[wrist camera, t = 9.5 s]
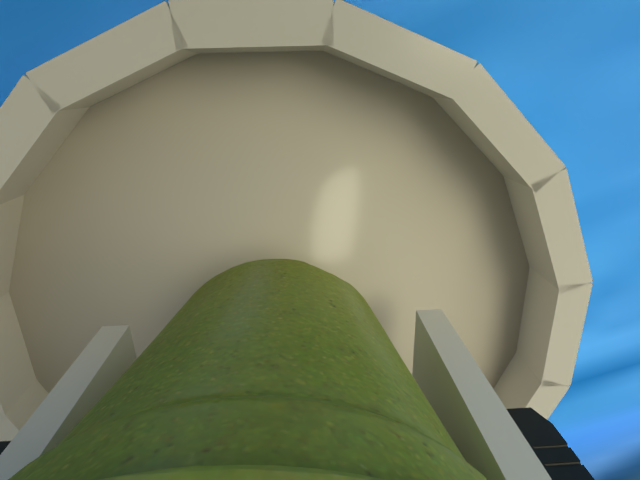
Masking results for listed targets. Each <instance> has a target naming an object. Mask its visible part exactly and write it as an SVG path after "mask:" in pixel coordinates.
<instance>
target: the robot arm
mask: <svg viewBox="0 0 640 480" xmlns="http://www.w3.org/2000/svg"><path fill="white" fill-rule="evenodd" d="M135 360H136V354H135V349H134V344H133V340H132V335H131V330H130V325H120V326H102V327H101V329H100V330H99V331H98V332H97V334H96V335H95V336H94V338H93V339H92V340H91V341H90V343H89V344H88V345H87V346H86V348H85V349H84V350H83V351H82V353H81V354H80V355H79V356H78V358H77V359H76V360H75V361H74V363H73V364H72V365H71V367H70V368H69V369H68V370H67V372H66V373H65V374H64V375H63V377H62V378H61V379H60V380H59V382H58V383H57V384H56V385H55V387H54V388H53V389H52V390H51V392H50V393H49V394H48V395H47V397H46V398H45V399H44V401H43V402H42V403H41V404H40V406H39V407H38V408H37V409H36V411H35V412H34V413H33V414H32V416H31V417H30V418H29V419H28V421H27V422H26V423H25V424H24V426H23V427H22V428H21V430H20V431H19V432H18V433H17V435H16V436H15V437H14V438H13V440H12V441H0V480H8V479H9V478H11V477H12V476H13V475H15V474H16V473H17V472H18V471H20V470H21V469H22V468H23V467H25V466H26V465H27V464H29V463H30V462H32V461H34V460H35V459H37V458H38V457H40V456H41V455H43V454H44V453H46V452H48V451H50V450H51V449H53V448H55V447H56V446H57V445H58V444H59V443H60V442H61V441H62V440H63V439H64V438H65V437H66V436H67V435H68V433H69V432H70V431H71V430H72V429H73V428H74V427H75V426H76V425H77V424H78V423H79V421H80V420H81V419H82V418H83V417H84V416H85V415H86V414H87V413H88V412H89V411H90V409H91V408H92V407H93V406H94V405H95V404H96V403H97V402H98V401H99V400H100V399H101V397H102V396H103V395H104V394H105V393H106V392H107V391H108V390H109V389H110V388H111V387H112V386H113V384H114V383H115V382H116V381H117V380H118V379H119V378H120V377H121V376H122V375H123V374H124V373H125V371H126V370H127V369H128V368H129V367H130V366H131V365H132V364H133V362H134V361H135ZM412 376H413V378H414V379H415V381H416V382H417V384H418V386H419V387H420V389H421V390H422V392H423V394H424V395H425V397H426V398H427V400H428V402H429V403H430V405H431V406H432V408H433V410H434V411H435V413H436V414H437V416H438V418H439V419H440V421H441V422H442V424H443V426H444V427H445V429H446V430H447V432H448V434H449V435H450V437H451V438H452V440H453V441H454V443H455V445H456V446H457V448H458V449H459V451H460V453H461V454H462V456H463V457H464V459H465V461H466V462H468V463H469V464H470V465H471V466H473V467H474V468H475V469H476V470H478V471H479V472H480V473H481V474H483V475H484V476H485V477H486V478H487V479H488V480H594V478H593V477H592V476H591V474H590V473H589V472H588V470H587V469H586V468H585V467H584V465H581V464H580V460H579V459H578V457H577V456H576V455H575V453H574V452H573V451H572V449H571V448H568V446H567V443H566V441H565V440H564V439H563V437H562V436H561V435H560V433H559V432H558V431H557V429H556V428H555V427H554V425H553V424H552V423H551V422H549V421H548V420H547V419H545V418H544V417H543V416H541V415H540V414H539V413H537V412H536V411H535V410H534V409H532V408H531V407H528V408H512V409H506V408H505V406H504V405H503V403H502V402H501V400H500V399H499V397H498V396H497V394H496V392H495V391H494V389H493V388H492V386H491V385H490V383H489V382H488V380H487V379H486V377H485V375H484V374H483V372H482V371H481V369H480V368H479V366H478V365H477V363H476V362H475V360H474V358H473V357H472V355H471V354H470V352H469V351H468V349H467V348H466V346H465V345H464V343H463V341H462V340H461V338H460V337H459V335H458V334H457V332H456V331H455V329H454V328H453V326H452V324H451V323H450V321H449V320H448V318H447V317H446V315H445V314H444V312H443V311H442V309H433V310H416V321H415V337H414V354H413V371H412Z"/></svg>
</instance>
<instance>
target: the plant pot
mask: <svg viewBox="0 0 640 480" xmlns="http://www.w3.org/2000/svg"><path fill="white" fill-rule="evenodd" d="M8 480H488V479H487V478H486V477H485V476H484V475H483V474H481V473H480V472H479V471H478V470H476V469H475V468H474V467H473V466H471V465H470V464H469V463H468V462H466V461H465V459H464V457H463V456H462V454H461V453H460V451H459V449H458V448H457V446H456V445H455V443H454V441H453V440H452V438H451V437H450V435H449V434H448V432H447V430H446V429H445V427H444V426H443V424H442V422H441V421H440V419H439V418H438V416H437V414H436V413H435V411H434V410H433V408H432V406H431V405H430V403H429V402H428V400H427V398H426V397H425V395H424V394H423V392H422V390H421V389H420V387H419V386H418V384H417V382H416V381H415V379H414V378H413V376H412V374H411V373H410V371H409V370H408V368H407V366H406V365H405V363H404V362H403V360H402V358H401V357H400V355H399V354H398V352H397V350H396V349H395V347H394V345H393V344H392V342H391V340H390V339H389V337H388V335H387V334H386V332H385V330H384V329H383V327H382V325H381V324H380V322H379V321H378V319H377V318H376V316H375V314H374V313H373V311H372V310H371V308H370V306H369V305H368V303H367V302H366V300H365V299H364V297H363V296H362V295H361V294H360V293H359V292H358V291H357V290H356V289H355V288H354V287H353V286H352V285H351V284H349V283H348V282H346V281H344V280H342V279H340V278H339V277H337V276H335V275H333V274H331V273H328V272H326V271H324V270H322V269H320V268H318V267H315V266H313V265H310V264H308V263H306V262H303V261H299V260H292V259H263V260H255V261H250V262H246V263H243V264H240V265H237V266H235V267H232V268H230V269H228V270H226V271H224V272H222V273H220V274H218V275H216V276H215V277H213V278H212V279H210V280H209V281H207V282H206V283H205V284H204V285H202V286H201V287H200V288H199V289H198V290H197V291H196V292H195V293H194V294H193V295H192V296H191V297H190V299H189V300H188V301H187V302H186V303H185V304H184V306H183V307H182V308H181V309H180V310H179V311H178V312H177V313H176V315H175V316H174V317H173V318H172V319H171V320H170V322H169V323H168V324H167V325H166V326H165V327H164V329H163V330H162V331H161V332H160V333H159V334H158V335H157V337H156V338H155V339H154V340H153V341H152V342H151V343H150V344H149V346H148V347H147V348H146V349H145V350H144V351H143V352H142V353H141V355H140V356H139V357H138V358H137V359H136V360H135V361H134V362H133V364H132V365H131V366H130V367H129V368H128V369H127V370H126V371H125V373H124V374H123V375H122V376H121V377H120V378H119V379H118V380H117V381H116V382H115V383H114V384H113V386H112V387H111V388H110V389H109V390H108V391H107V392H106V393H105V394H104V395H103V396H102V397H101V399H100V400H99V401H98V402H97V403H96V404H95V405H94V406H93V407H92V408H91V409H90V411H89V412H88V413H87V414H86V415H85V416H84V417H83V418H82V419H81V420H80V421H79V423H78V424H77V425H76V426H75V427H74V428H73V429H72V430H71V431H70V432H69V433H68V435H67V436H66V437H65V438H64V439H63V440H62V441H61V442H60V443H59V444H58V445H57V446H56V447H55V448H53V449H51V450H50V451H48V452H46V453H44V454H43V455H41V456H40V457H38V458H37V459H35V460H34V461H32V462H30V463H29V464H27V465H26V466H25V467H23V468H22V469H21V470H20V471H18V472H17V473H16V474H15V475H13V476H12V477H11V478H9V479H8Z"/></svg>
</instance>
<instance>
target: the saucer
mask: <svg viewBox="0 0 640 480" xmlns="http://www.w3.org/2000/svg"><path fill="white" fill-rule="evenodd" d="M564 167H565V165H564V164H563V163H562V161H561V160H560V159H559V158H558V157H557V155H556V154H555V153H554V152H553V151H552V149H551V148H550V147H549V146H548V145H547V143H546V142H545V141H544V140H543V138H542V137H541V136H540V135H539V134H538V132H537V131H536V130H535V129H534V128H533V126H532V125H531V124H530V123H529V122H528V120H527V119H526V118H525V117H524V116H523V114H522V113H521V112H520V111H519V110H518V108H517V107H516V106H515V105H514V104H513V102H512V101H511V100H510V99H509V98H508V96H507V95H506V94H505V93H504V91H503V90H502V89H501V88H500V87H499V85H498V84H497V83H496V82H495V81H494V79H493V78H492V77H491V76H490V75H489V73H488V72H487V71H486V70H485V69H484V67H483V66H482V65H481V64H480V63H477V61H476V60H474V59H472V58H469V57H467V56H465V55H463V54H461V53H458V52H456V51H454V50H452V49H449V48H447V47H445V46H443V45H441V44H438V43H436V42H434V41H432V40H429V39H427V38H425V37H423V36H421V35H418V34H416V33H414V32H412V31H409V30H407V29H405V28H403V27H401V26H398V25H396V24H394V23H392V22H390V21H387V20H385V19H383V18H381V17H378V16H376V15H374V14H372V13H370V12H367V11H365V10H363V9H361V8H358V7H356V6H354V5H352V4H350V3H347V2H345V1H343V0H335V2H334V4H333V0H169V3H168V2H166V1H164V2H162V3H160V4H158V5H156V6H154V7H152V8H150V9H148V10H147V11H145V12H143V13H141V14H139V15H137V16H135V17H133V18H131V19H129V20H127V21H125V22H123V23H121V24H119V25H117V26H115V27H113V28H112V29H110V30H108V31H106V32H104V33H102V34H100V35H98V36H96V37H94V38H92V39H90V40H88V41H86V42H84V43H82V44H80V45H78V46H77V47H75V48H73V49H71V50H69V51H67V52H65V53H63V54H61V55H59V56H57V57H55V58H53V59H51V60H49V61H47V62H45V63H44V64H42V65H40V66H38V67H36V68H34V69H32V70H30V71H28V72H26V75H23V76H22V77H21V78H20V80H19V81H18V83H17V84H16V86H15V87H14V89H13V90H12V92H11V93H10V94H9V96H8V97H7V99H6V100H5V102H4V103H3V105H2V106H1V107H0V441H12V440H13V438H14V437H15V436H16V435H17V433H18V432H19V431H20V430H21V428H22V427H23V426H24V424H25V423H26V422H27V421H28V419H29V418H30V417H31V416H32V414H33V413H34V412H35V411H36V409H37V408H38V407H39V406H40V404H41V403H42V402H43V401H44V399H45V398H46V397H47V395H48V394H49V393H50V392H51V390H52V389H53V388H54V387H55V385H56V384H57V383H58V382H59V380H60V379H61V378H62V377H63V375H64V374H65V373H66V372H67V370H68V369H69V368H70V367H71V365H72V364H73V363H74V361H75V360H76V359H77V358H78V356H79V355H80V354H81V353H82V351H83V350H84V349H85V348H86V346H87V345H88V344H89V343H90V341H91V340H92V339H93V338H94V336H95V335H96V334H97V332H98V331H99V330H100V329H101V327H102V326H120V325H130V330H131V335H132V340H133V344H134V349H135V354H136V359H137V358H138V357H139V356H140V355H141V353H142V352H143V351H144V350H145V349H146V348H147V347H148V346H149V344H150V343H151V342H152V341H153V340H154V339H155V338H156V337H157V335H158V334H159V333H160V332H161V331H162V330H163V329H164V327H165V326H166V325H167V324H168V323H169V322H170V320H171V319H172V318H173V317H174V316H175V315H176V313H177V312H178V311H179V310H180V309H181V308H182V307H183V306H184V304H185V303H186V302H187V301H188V300H189V299H190V297H191V296H192V295H193V294H194V293H195V292H196V291H197V290H198V289H199V288H200V287H201V286H202V285H204V284H205V283H206V282H207V281H209V280H210V279H212V278H213V277H215V276H216V275H218V274H220V273H222V272H224V271H226V270H228V269H230V268H232V267H235V266H237V265H240V264H243V263H246V262H250V261H255V260H263V259H292V260H299V261H303V262H306V263H308V264H310V265H313V266H315V267H318V268H320V269H322V270H324V271H326V272H328V273H331V274H333V275H335V276H337V277H339V278H340V279H342V280H344V281H346V282H348V283H349V284H351V285H352V286H353V287H354V288H355V289H356V290H357V291H358V292H359V293H360V294H361V295H362V296H363V297H364V299H365V300H366V302H367V303H368V305H369V306H370V308H371V310H372V311H373V313H374V314H375V316H376V318H377V319H378V321H379V322H380V324H381V325H382V327H383V329H384V330H385V332H386V334H387V335H388V337H389V339H390V340H391V342H392V344H393V345H394V347H395V349H396V350H397V352H398V354H399V355H400V357H401V358H402V360H403V362H404V363H405V365H406V366H407V368H408V370H409V371H410V373H411V374H412V371H413V354H414V337H415V321H416V310H433V309H442V311H443V312H444V314H445V315H446V317H447V318H448V320H449V321H450V323H451V324H452V326H453V328H454V329H455V331H456V332H457V334H458V335H459V337H460V338H461V340H462V341H463V343H464V345H465V346H466V348H467V349H468V351H469V352H470V354H471V355H472V357H473V358H474V360H475V362H476V363H477V365H478V366H479V368H480V369H481V371H482V372H483V374H484V375H485V377H486V379H487V380H488V382H489V383H490V385H491V386H492V388H493V389H494V391H495V392H496V394H497V396H498V397H499V399H500V400H501V402H502V403H503V405H504V406H505V408H506V409H512V408H528V407H531V408H532V409H534V410H535V411H536V412H537V413H539V414H540V415H541V416H543V417H544V418H545V419H548V418H549V416H550V415H551V413H552V412H553V411H554V409H555V408H556V406H557V405H558V403H559V402H560V400H561V399H562V398H563V396H564V395H565V393H566V392H567V390H568V389H569V386H568V385H571V381H572V376H573V372H574V367H575V363H576V358H577V354H578V349H579V344H580V340H581V335H582V331H583V326H584V322H585V317H586V312H587V308H588V303H589V299H590V294H591V290H592V285H593V283H591V282H592V281H593V280H592V276H591V271H590V267H589V263H588V258H587V254H586V250H585V245H584V241H583V237H582V232H581V228H580V224H579V219H578V215H577V211H576V207H575V202H574V198H573V194H572V189H571V185H570V181H569V176H568V172H567V169H566V168H564Z"/></svg>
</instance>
